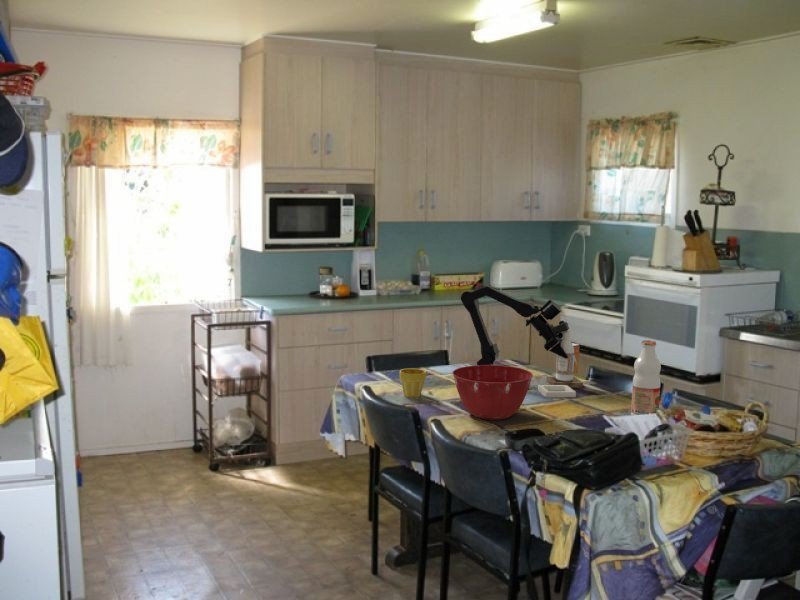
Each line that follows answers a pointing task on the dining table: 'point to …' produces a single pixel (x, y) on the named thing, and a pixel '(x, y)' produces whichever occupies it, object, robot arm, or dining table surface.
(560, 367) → the bath foam
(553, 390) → the white square tray
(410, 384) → the plant pot
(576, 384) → the walnut collar
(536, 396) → the dining table surface
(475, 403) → the mixing bowl
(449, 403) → the dining table surface
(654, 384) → the fruit juice
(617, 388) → the dining table surface
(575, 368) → the small box
